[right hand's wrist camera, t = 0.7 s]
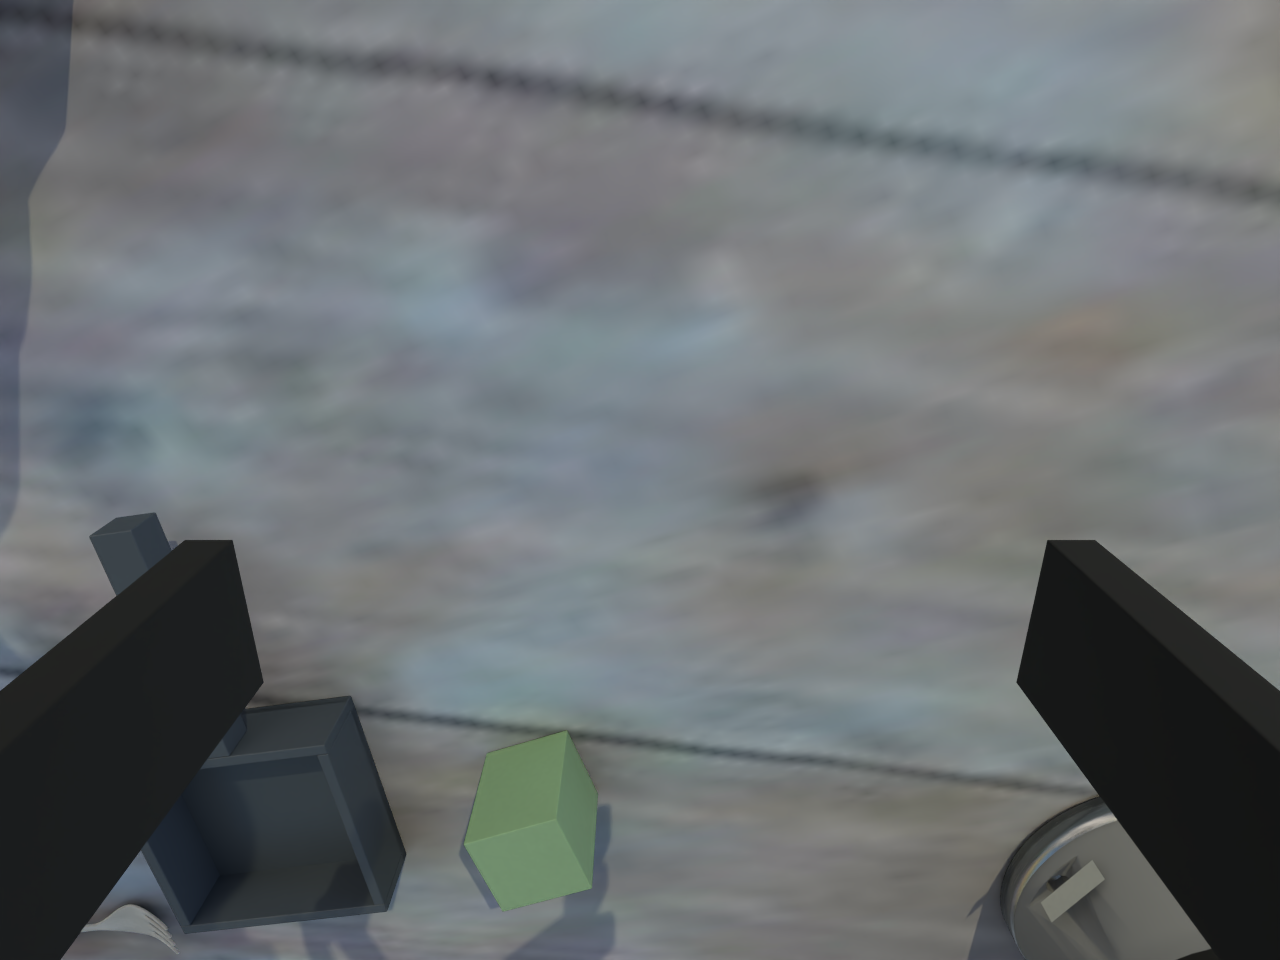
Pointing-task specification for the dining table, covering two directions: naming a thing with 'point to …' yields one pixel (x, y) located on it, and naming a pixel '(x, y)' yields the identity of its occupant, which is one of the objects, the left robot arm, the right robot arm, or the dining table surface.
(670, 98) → the dining table surface
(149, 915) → the fork
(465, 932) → the dining table surface
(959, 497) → the dining table surface
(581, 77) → the dining table surface
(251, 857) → the pan
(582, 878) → the block
